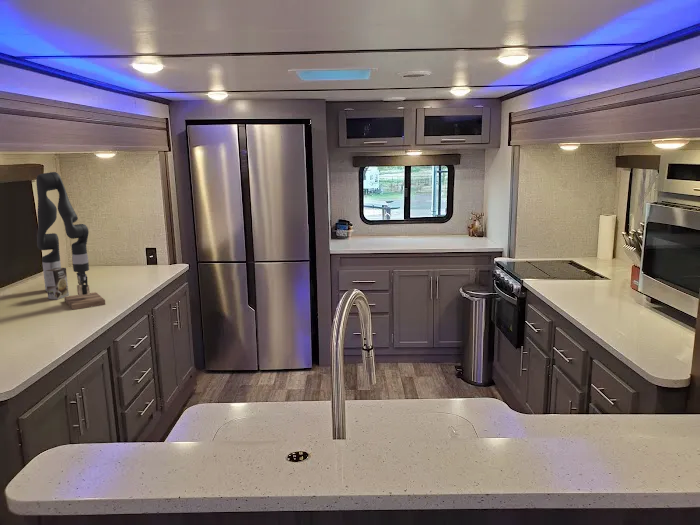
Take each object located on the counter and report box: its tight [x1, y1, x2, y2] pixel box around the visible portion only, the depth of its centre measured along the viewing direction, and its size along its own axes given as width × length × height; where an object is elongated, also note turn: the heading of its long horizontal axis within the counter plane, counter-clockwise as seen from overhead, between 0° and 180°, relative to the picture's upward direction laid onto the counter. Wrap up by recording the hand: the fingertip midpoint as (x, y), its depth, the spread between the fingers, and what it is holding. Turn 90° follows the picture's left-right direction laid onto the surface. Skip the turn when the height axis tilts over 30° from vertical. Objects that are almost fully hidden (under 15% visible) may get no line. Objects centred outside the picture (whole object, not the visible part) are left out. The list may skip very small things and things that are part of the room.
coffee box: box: [45, 267, 70, 300], centre depth 304 cm, size 9×6×16 cm
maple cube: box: [76, 283, 91, 296], centre depth 293 cm, size 5×5×5 cm
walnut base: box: [63, 291, 106, 311], centre depth 294 cm, size 20×16×2 cm
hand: (83, 293), depth 293 cm, fingers closed on maple cube, 5 cm apart
